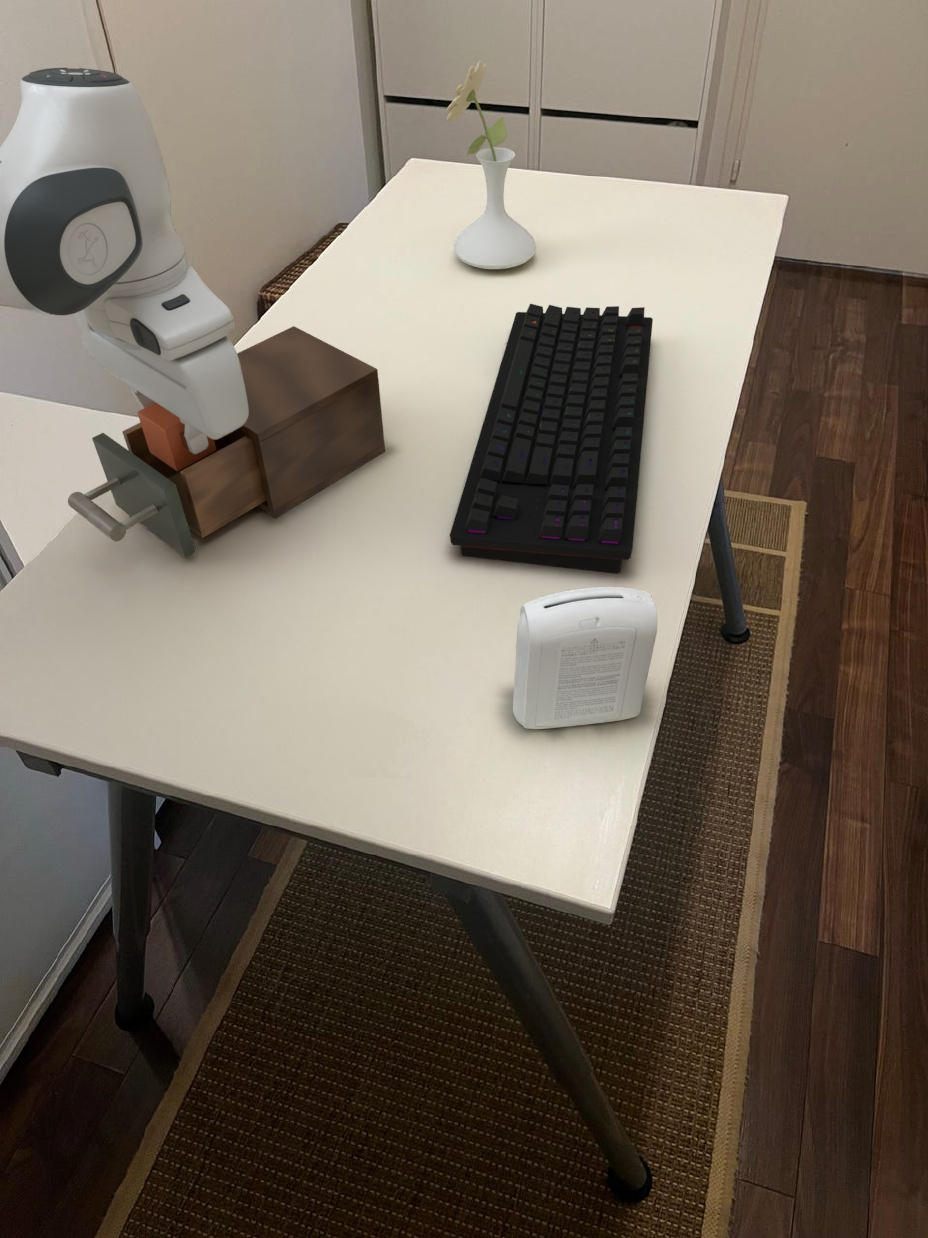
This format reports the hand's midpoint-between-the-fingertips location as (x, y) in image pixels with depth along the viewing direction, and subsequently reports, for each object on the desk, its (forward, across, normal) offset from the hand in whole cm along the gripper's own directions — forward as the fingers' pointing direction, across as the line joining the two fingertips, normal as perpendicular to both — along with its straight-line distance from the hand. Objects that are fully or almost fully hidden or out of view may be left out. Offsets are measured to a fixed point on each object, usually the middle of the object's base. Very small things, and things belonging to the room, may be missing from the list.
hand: (178, 436), depth 85 cm
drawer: (+8, 0, -1) cm, 8 cm away
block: (+2, 0, 0) cm, 2 cm away
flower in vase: (+9, -15, +60) cm, 62 cm away
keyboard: (+9, +18, +34) cm, 40 cm away
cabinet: (+9, 0, +12) cm, 15 cm away
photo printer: (+9, +42, +6) cm, 44 cm away
